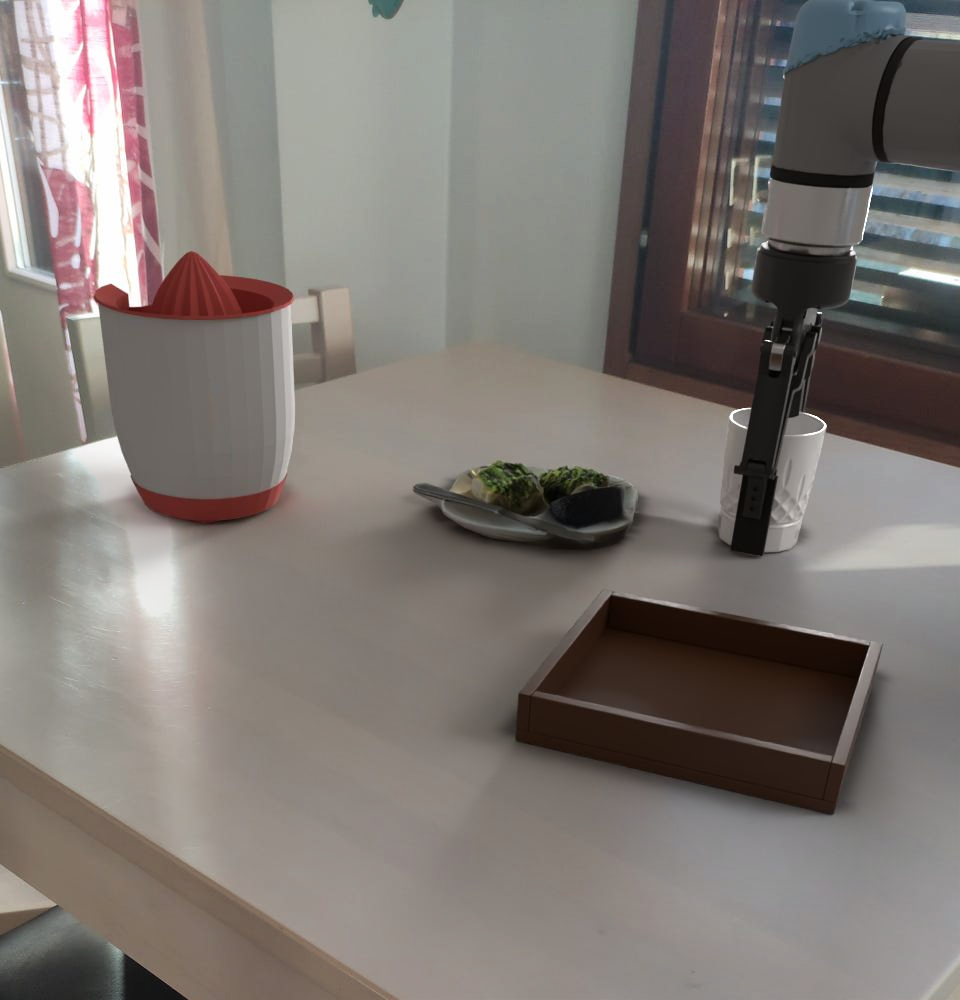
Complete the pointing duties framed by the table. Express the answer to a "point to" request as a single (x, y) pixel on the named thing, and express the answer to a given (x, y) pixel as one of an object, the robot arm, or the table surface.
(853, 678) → the tray
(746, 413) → the white cup
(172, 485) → the citrus juicer
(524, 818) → the table surface
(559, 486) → the salad plate
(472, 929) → the table surface
